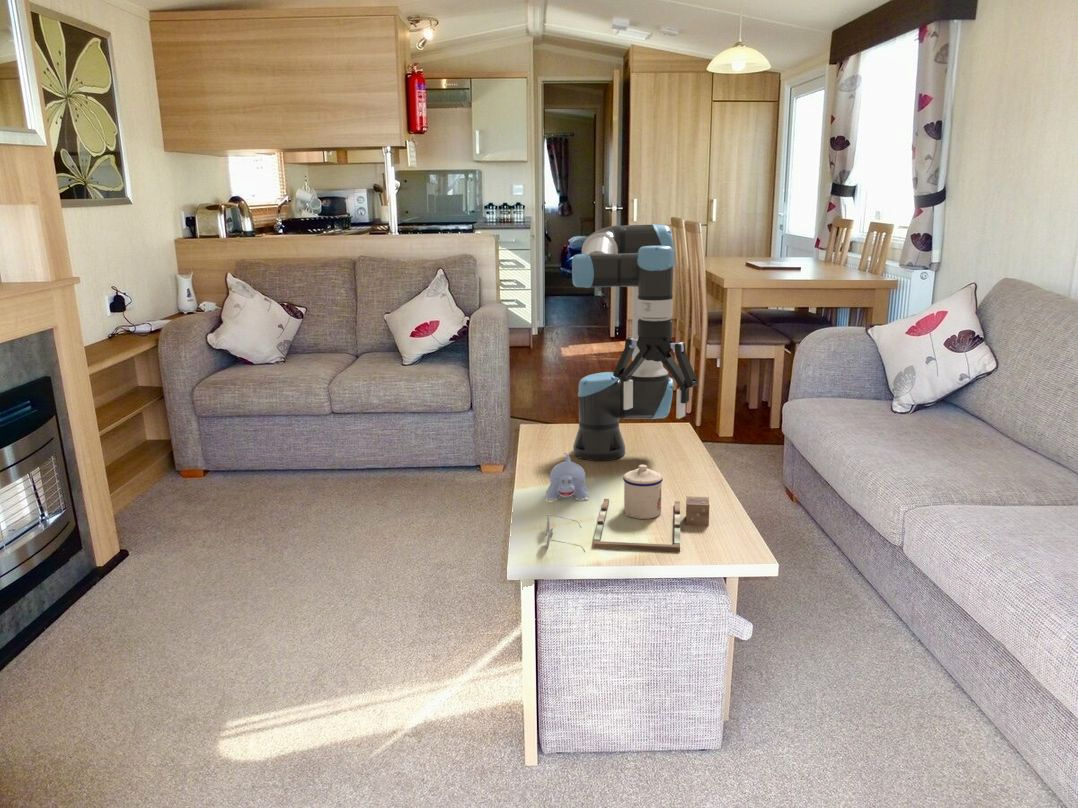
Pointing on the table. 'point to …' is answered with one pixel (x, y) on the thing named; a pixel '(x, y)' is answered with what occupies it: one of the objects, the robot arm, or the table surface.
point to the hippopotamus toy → (567, 481)
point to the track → (636, 546)
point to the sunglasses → (552, 532)
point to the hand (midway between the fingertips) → (653, 412)
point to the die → (697, 510)
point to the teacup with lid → (642, 493)
